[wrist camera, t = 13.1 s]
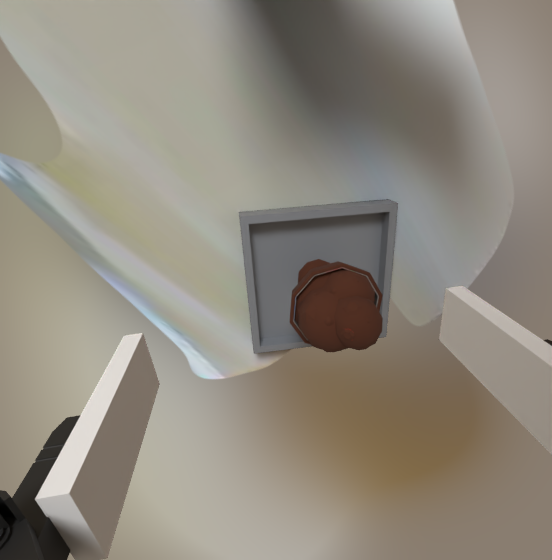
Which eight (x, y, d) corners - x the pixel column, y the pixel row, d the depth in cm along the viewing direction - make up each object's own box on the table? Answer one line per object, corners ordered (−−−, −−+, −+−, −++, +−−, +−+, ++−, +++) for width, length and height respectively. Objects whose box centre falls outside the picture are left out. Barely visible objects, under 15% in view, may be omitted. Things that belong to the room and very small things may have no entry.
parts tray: (238, 212, 42) (239, 216, 39) (388, 199, 44) (398, 203, 41) (252, 342, 50) (253, 353, 47) (378, 327, 52) (386, 336, 49)
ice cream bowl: (330, 224, 43) (375, 263, 30) (366, 286, 48) (420, 345, 34) (263, 267, 44) (278, 324, 31) (304, 324, 49) (333, 396, 35)
